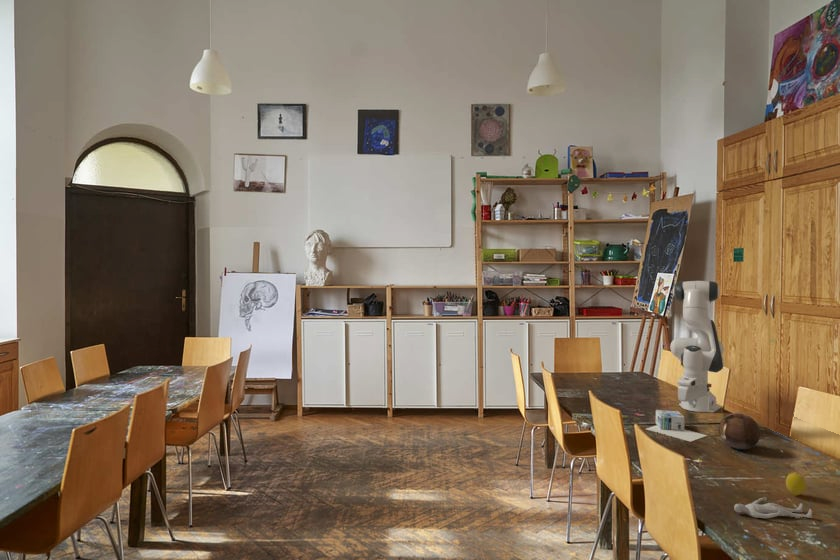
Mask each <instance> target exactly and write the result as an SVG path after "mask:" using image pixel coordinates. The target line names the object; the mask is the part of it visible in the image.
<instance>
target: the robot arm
mask: <svg viewBox="0 0 840 560" xmlns="http://www.w3.org/2000/svg"><path fill="white" fill-rule="evenodd" d="M672 287H673V288H672V295H673V297H674V299H676V301H680V302H683V303H682V318H683V321H684V325H685V328H686V329H687V330H689V331H690V332H693V333H695V334H696V335H697V336H698V337H677V338H674V339H673V340H672V341H671V343H670V346H669V349H670V351H671V353H672V355H673V356H675V357H676V358H677V359H678V360H679V361H680V365H681V366H682V367H683V371H682V375H681V377H680V378H678V380H677V383H676V384H678V385H677V398H678V400H679V401H680V403H679V402H678V403H679V404H678V405H679V406H680V407H681V408H682V409H684V410H687V411H689V412H696V413H715V412H717V411H718V410H720V409H722V405H720V404H717V397H716V396H715V394H714V393H712V392H711V391H710V390H711V389H710V388H712V383H709V380H708V379H709V378H708V377H709V375H708V372H710V373H716V374H717V373H719V372H721V371H722V370H723V369H724V366H725V361H724V357H723V354H724V351H725V350H724V345H723V343H722V342H721V341H720V340H719V337H718V336H719V335H718V331H717V327H716V323H715V322H714V320H712V319H711V318H710V317H709V307H708V302H709V304H710V303H712V302H714V301H716V300H717V299H718V297H719V296H720V293H721V289H720V286H719V284H718V283H717V282H716V281H711V280H709V281H708V280H690V281H689V280H688V281H684V280H683V281H681V280H680V281H677V282H676V283H674V286H672Z"/></svg>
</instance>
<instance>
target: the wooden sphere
mask: <svg viewBox="0 0 840 560" xmlns="http://www.w3.org/2000/svg"><path fill="white" fill-rule="evenodd" d="M718 431H719V435H720V438H721V439H722V440H723V441H724V443H726V445H728V446H730V447H731V448H733V449H737V450H749V449H751V448H753V447H755V446H756V445H757V444H758V442H760V439H761V430H760V426H759V425H758V424H757V422H756V421H755V420H754V419H753V418H752V417H751V416H749V415H747V414H745V413H744V414H743V413H741V412H734V413H730V414H727V415H726V416H724V417H723V418H722V419H721V420H720V423H719V426H718Z"/></svg>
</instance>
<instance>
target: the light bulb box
mask: <svg viewBox="0 0 840 560" xmlns="http://www.w3.org/2000/svg"><path fill="white" fill-rule="evenodd" d="M654 421H655V425H658V426H659V428H660V429H669V430H683V431H684V429H685V416H684V415H683V414H682V413H681V412H680V411H677V410H675V411H674V410H663V409H662V410H661V409H656V410H655V420H654Z"/></svg>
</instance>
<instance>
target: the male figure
mask: <svg viewBox="0 0 840 560" xmlns="http://www.w3.org/2000/svg"><path fill="white" fill-rule="evenodd" d="M762 501H763V502H767V497H760V498H758V499H756V500H754V501H752V502H751V503H747V504H742V503H735V504H734V506H733V509H734V511H735V512H736V513H745V514H746V515H748V516H750V517H752V518H758V519H759V518H760V519H770V518H771V519H772V518H776V517H791V518H792V517H795V518H794V519H803V518H802V517H807V518H812V519H813V510H812V509H811V508H809V509H808V512H807V513H806V514H802V513H803V511H804V510H803V508H804V504H803V503H799V505H798V507H797V508H789V507H785V506H782V505H780V504H777V503H773V502H768V503H764V504H760V502H762ZM792 512H795V513H792ZM800 513H801V514H800ZM800 517H801V518H800Z"/></svg>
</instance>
